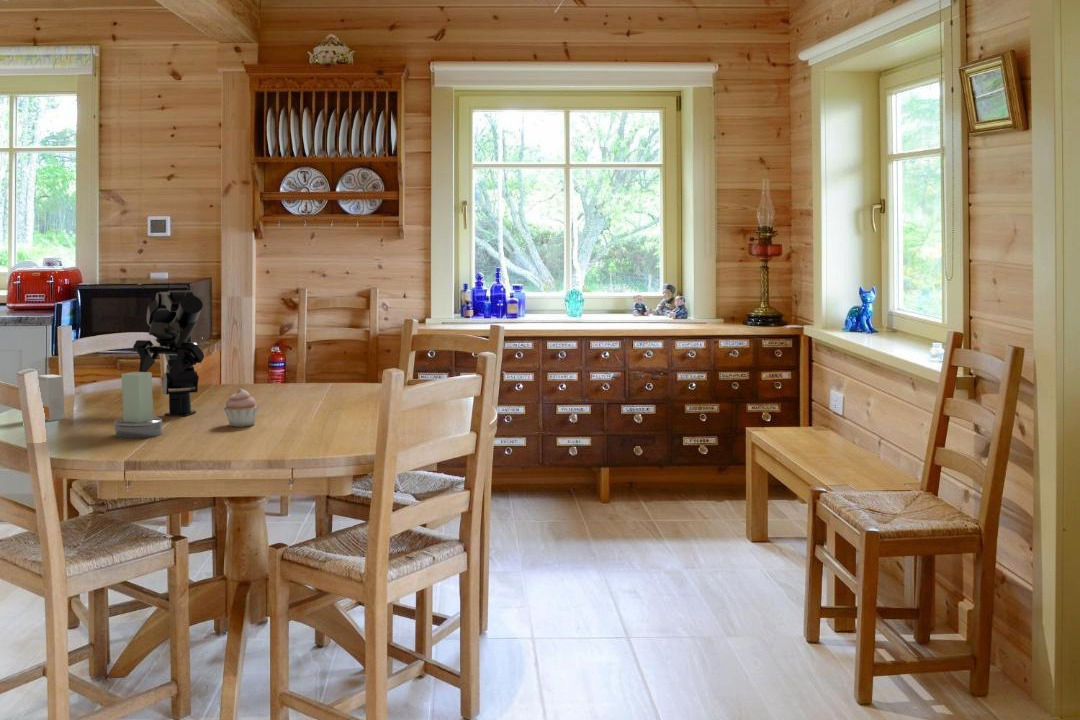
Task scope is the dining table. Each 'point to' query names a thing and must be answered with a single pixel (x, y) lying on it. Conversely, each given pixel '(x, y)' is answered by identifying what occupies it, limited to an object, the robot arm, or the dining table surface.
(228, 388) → the dining table surface
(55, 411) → the skincare box
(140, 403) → the sage block
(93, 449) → the dining table surface
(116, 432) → the charcoal tin
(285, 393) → the dining table surface
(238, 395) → the cupcake
